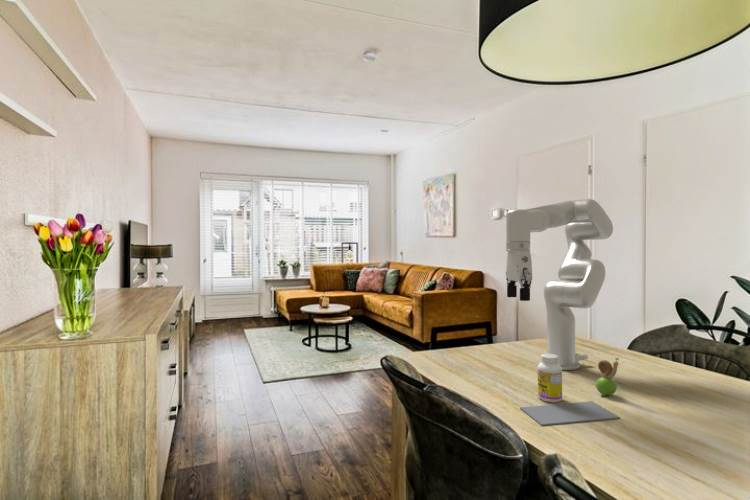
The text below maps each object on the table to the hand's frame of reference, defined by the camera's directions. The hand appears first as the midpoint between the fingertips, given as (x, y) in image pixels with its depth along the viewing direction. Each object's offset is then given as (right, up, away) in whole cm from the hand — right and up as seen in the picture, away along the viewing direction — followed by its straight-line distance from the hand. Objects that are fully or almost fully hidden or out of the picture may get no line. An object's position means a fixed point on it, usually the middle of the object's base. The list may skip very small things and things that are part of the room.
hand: (518, 298), depth 139 cm
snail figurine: (+22, -28, -14) cm, 38 cm away
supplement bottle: (+4, -28, -15) cm, 32 cm away
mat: (+5, -28, -26) cm, 38 cm away
